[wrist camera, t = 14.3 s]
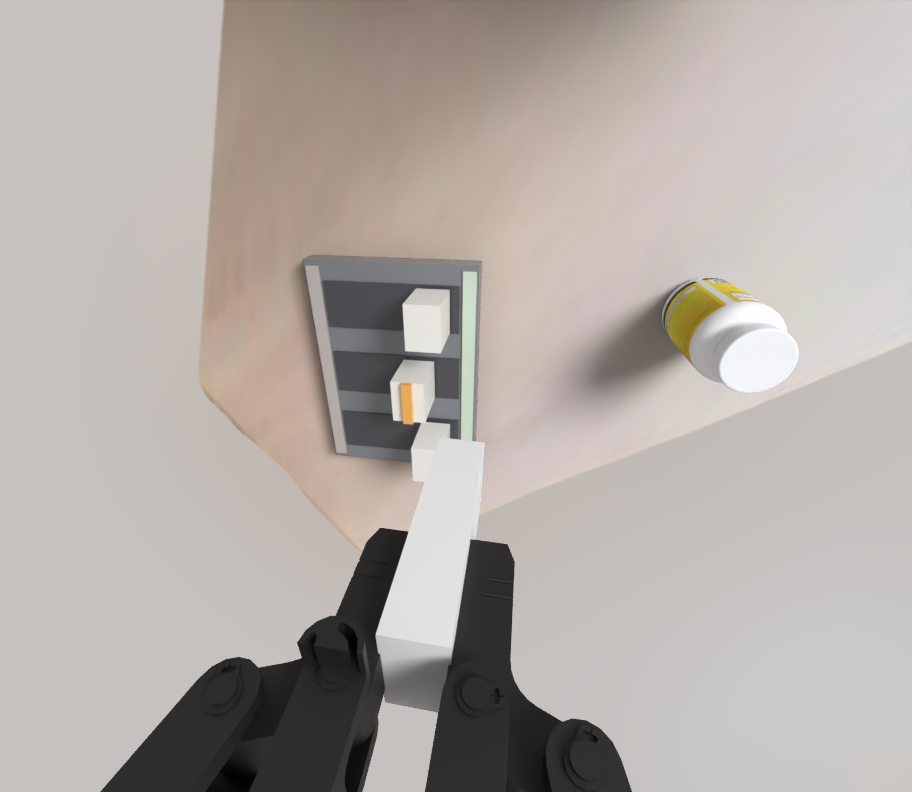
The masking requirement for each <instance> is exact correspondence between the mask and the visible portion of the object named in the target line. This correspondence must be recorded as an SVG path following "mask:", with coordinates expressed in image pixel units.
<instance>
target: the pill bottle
mask: <svg viewBox="0 0 912 792" xmlns="http://www.w3.org/2000/svg"><path fill="white" fill-rule="evenodd" d="M662 324H663V327H664V330H665V332H666V333H667V335H668V336H669V338H670V339H671V340H672V341H673V343H674V344H675V345H676V346H677V347H678V348H679V350H680V351H681V352H682V353H683V354H684V356H685V357H686V358H687V359H688V360H689V362H690V363H691V364H692V365H693V366H694V368H695V369H696V370H697V371H698V372H699V373H700V374H702V375H703V376H704V377H706V378H708V379H710V380H713V381H715V382H720V383H723V384H724V385H725V386H727V387H728V388H730V389H731V390H734V391H737V392H741V393H756V392H761V391H764V390H767V389H770V388H772V387H774V386H776V385H778V384H779V383H781V382H782V381H783V380H784V379H786V378H787V377H788V376H789V374H790V373H791V372H792V370H793V369H794V367H795V365H796V363H797V360H798V347H797V344H796V342H795V340H794V339H793V338H792V337H791V336H790V335H789V334H788V333H787V329H786V325H785V322H784V320H783V319H782V317H781V316H780V315H779V314H778V313H777V312H776V311H775V310H774V309H772V308H771V307H770V306H768V305H766V304H764V303H763V302H761V301H759V300H758V299H756V298H755V297H753V296H751V295H749V294H748V293H746V292H744V291H743V290H741V289H739V288H738V287H736V286H734V285H733V284H731V283H729V282H727V281H725V280H723V279H720V278H716V277H700V278H696V279H693V280H690V281H688V282H686V283H684V284H682V285H681V286H679V287H678V288H677V289H676V290H675V291H674V292H673V293H672V294H671V295H670V296H669V298H668V299H667V301H666V303H665V305H664V308H663V312H662Z"/></svg>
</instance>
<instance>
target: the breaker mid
mask: <svg viewBox="0 0 912 792" xmlns="http://www.w3.org/2000/svg"><path fill="white" fill-rule="evenodd" d="M390 388H391V400H392V412H393V420H394V421H403V424H412V425H413V423H414V422H417V423H425V422H426V420H427V417H428V415H429V412H430V409H431V407H432V404H433V402H434V399H435V379H434V362H432V361H417V360H403V361H402V363H401V365H400V366H399V368H398V370H397V371H396V373H395V375H394V376H393V378H392V379H391V381H390Z"/></svg>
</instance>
